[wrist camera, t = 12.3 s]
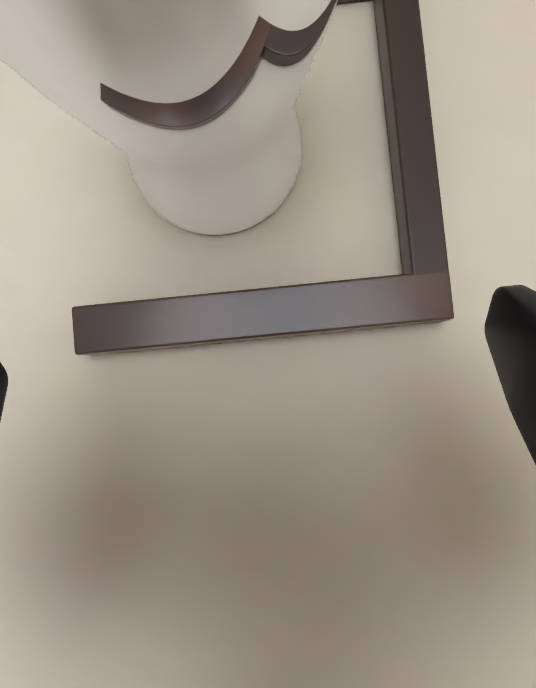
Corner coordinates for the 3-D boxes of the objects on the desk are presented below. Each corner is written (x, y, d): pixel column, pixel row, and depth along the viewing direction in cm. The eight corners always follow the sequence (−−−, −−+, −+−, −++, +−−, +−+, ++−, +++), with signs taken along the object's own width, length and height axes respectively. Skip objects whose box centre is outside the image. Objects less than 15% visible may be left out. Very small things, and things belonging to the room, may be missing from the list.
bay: (89, 355, 17) (74, 354, 16) (62, -6, 17) (45, -34, 16) (442, 321, 16) (455, 318, 15) (401, -47, 17) (410, -78, 16)
